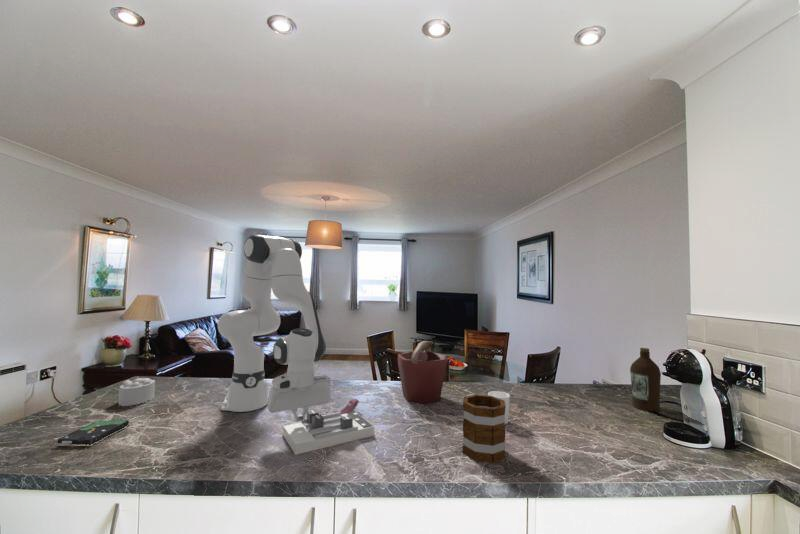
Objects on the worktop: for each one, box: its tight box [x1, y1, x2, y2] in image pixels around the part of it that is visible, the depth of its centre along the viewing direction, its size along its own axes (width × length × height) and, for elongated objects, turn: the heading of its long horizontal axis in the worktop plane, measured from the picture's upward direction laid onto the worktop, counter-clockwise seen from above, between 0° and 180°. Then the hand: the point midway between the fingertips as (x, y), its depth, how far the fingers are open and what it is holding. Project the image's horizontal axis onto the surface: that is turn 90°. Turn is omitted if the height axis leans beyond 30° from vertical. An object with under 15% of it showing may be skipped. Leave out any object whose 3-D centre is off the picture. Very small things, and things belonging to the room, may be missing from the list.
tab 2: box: [340, 415, 353, 430], centre depth 111 cm, size 3×3×4 cm
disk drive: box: [57, 419, 130, 445], centre depth 109 cm, size 10×3×15 cm
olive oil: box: [629, 347, 662, 412], centre depth 145 cm, size 11×11×25 cm
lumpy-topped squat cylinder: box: [118, 377, 156, 406], centre depth 141 cm, size 10×13×9 cm
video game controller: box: [339, 398, 360, 414], centre depth 131 cm, size 10×5×7 cm, turn 169°
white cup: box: [487, 390, 511, 425], centre depth 127 cm, size 8×8×10 cm
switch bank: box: [282, 411, 375, 456], centre depth 113 cm, size 15×26×4 cm, turn 122°
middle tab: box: [311, 414, 324, 429], centre depth 111 cm, size 3×3×4 cm
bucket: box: [397, 340, 448, 406], centre depth 152 cm, size 24×22×25 cm
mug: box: [462, 393, 506, 464], centre depth 107 cm, size 20×14×15 cm
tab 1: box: [306, 409, 320, 424], centre depth 115 cm, size 3×3×4 cm
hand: (299, 420), depth 112 cm, fingers closed
